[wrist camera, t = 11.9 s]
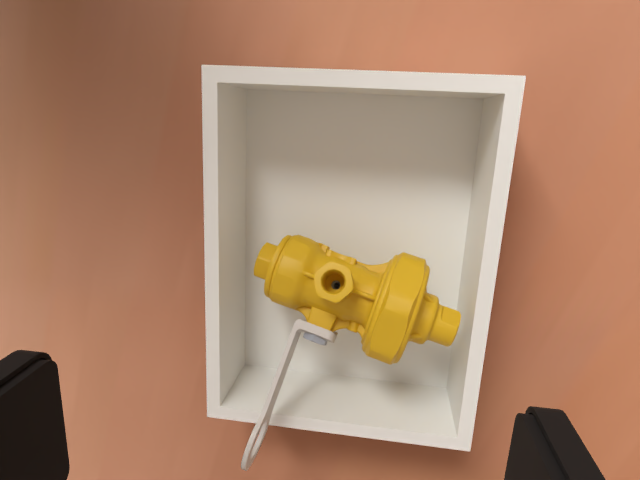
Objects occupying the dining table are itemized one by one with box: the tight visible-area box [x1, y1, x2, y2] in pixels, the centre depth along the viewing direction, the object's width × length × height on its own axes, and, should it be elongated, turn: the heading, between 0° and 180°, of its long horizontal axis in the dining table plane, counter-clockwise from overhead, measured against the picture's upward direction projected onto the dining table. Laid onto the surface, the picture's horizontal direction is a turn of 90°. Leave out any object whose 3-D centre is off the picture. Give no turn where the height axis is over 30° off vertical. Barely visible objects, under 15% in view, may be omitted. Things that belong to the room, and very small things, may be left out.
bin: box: [201, 65, 526, 452], centre depth 24 cm, size 13×17×5 cm
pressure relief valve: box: [241, 235, 461, 471], centre depth 22 cm, size 6×12×10 cm
